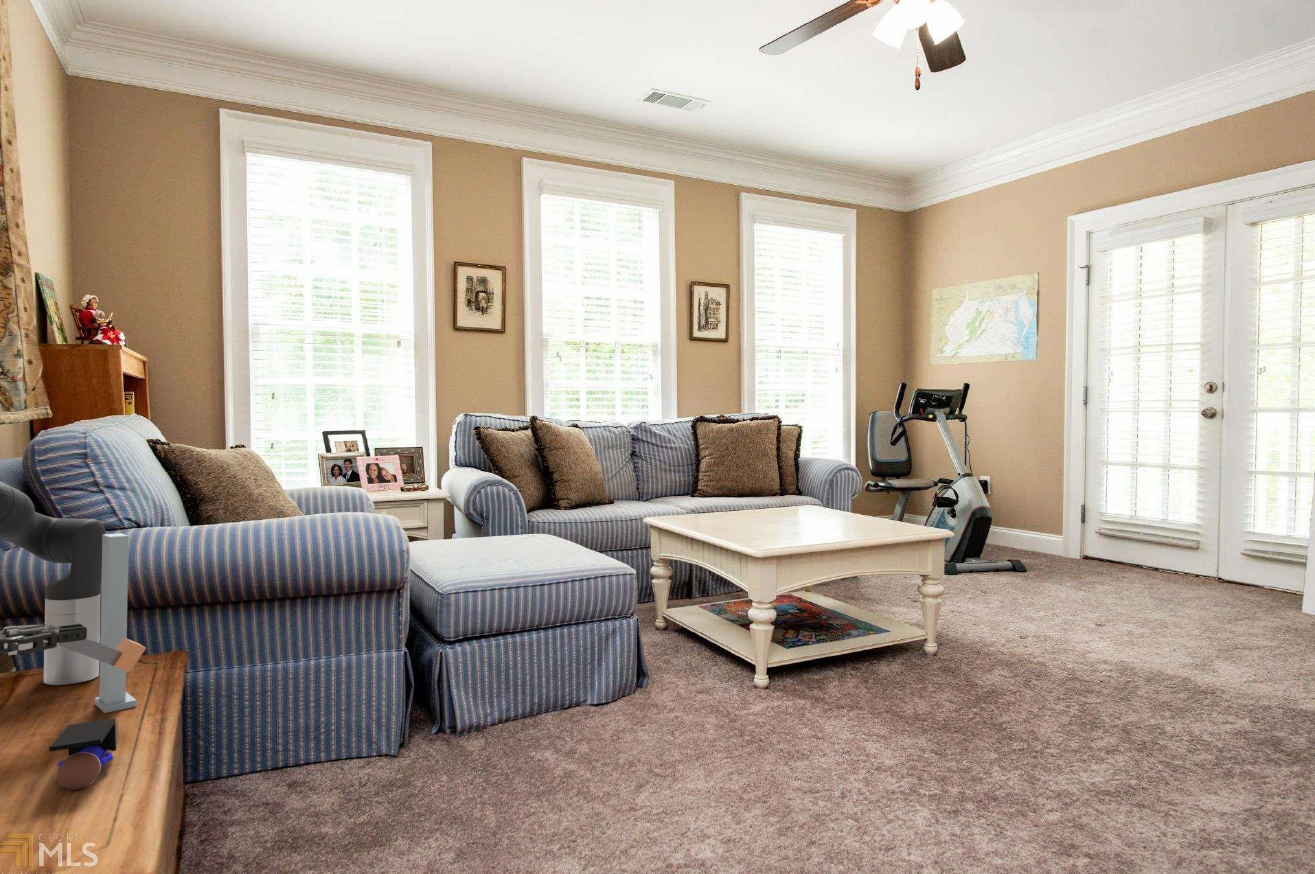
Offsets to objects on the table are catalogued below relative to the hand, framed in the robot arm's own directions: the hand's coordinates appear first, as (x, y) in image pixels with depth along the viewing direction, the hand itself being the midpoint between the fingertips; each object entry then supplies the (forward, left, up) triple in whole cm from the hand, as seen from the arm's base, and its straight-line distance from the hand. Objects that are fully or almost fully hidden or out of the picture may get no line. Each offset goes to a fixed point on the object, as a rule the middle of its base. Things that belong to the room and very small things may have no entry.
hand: (83, 631), depth 136 cm
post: (-10, +7, -17) cm, 21 cm away
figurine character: (+22, -4, -17) cm, 28 cm away
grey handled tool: (0, 0, -4) cm, 4 cm away
